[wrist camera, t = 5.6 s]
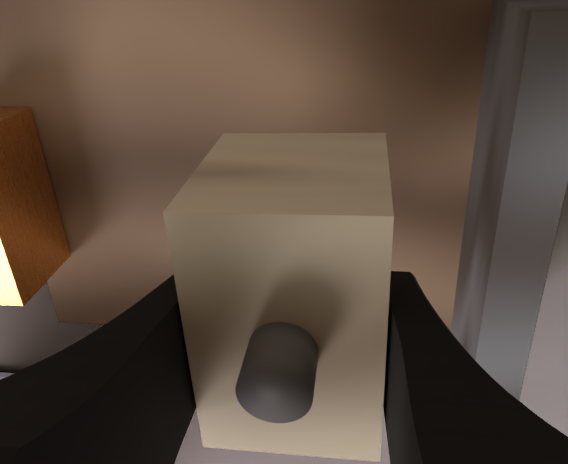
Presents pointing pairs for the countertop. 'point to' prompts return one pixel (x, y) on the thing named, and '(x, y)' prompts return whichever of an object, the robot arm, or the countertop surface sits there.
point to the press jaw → (26, 211)
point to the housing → (287, 291)
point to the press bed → (307, 119)
